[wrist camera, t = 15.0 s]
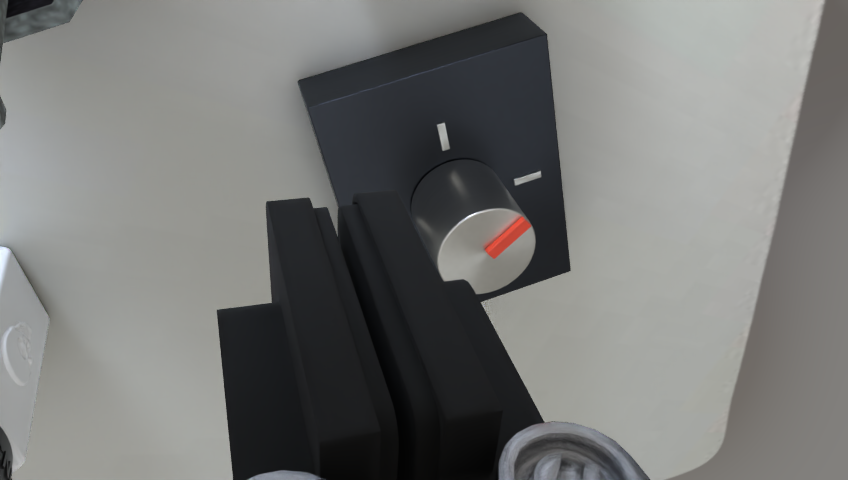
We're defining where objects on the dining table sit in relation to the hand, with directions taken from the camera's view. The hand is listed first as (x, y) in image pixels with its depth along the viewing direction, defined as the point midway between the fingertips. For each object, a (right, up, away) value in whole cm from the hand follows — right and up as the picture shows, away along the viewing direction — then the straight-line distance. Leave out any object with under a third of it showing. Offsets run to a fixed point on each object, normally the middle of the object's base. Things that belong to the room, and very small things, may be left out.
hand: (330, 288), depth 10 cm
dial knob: (+3, +3, +27) cm, 27 cm away
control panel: (+2, +4, +30) cm, 30 cm away
